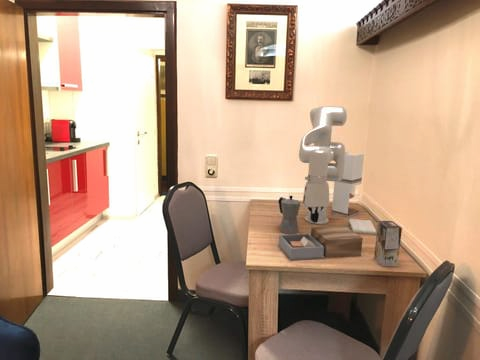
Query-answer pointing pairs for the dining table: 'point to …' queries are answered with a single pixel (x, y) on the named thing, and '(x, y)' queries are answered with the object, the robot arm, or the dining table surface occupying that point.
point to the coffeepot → (289, 215)
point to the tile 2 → (307, 242)
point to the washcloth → (362, 226)
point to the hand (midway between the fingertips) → (314, 221)
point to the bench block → (338, 241)
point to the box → (303, 252)
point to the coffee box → (387, 243)
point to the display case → (347, 185)
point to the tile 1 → (296, 244)
